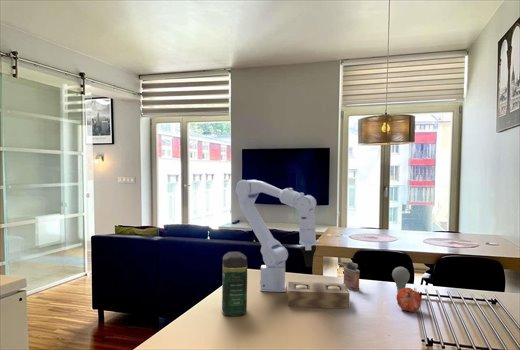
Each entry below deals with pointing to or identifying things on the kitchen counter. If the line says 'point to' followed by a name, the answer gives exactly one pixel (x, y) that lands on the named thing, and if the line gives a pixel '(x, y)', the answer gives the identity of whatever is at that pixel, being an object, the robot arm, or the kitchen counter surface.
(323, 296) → the wooden block with recesses
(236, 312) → the coffee jar
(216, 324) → the kitchen counter surface
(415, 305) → the pomegranate
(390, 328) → the kitchen counter surface
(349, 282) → the red ornate tin
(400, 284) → the light bulb
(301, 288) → the left peg
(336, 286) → the right peg
